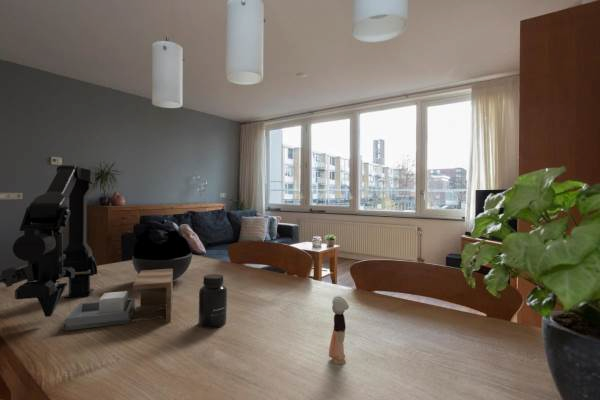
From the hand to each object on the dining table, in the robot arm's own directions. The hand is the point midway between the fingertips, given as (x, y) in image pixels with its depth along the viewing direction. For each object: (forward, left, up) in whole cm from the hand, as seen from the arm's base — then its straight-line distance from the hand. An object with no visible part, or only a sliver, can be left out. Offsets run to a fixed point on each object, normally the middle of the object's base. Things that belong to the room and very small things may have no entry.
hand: (48, 316), depth 78 cm
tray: (0, +12, -2) cm, 12 cm away
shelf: (0, +24, -2) cm, 24 cm away
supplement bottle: (+12, +38, -2) cm, 40 cm away
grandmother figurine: (+38, +60, -2) cm, 71 cm away
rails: (0, +16, -2) cm, 16 cm away
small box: (0, +14, -1) cm, 14 cm away
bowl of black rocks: (-31, +24, -2) cm, 40 cm away
